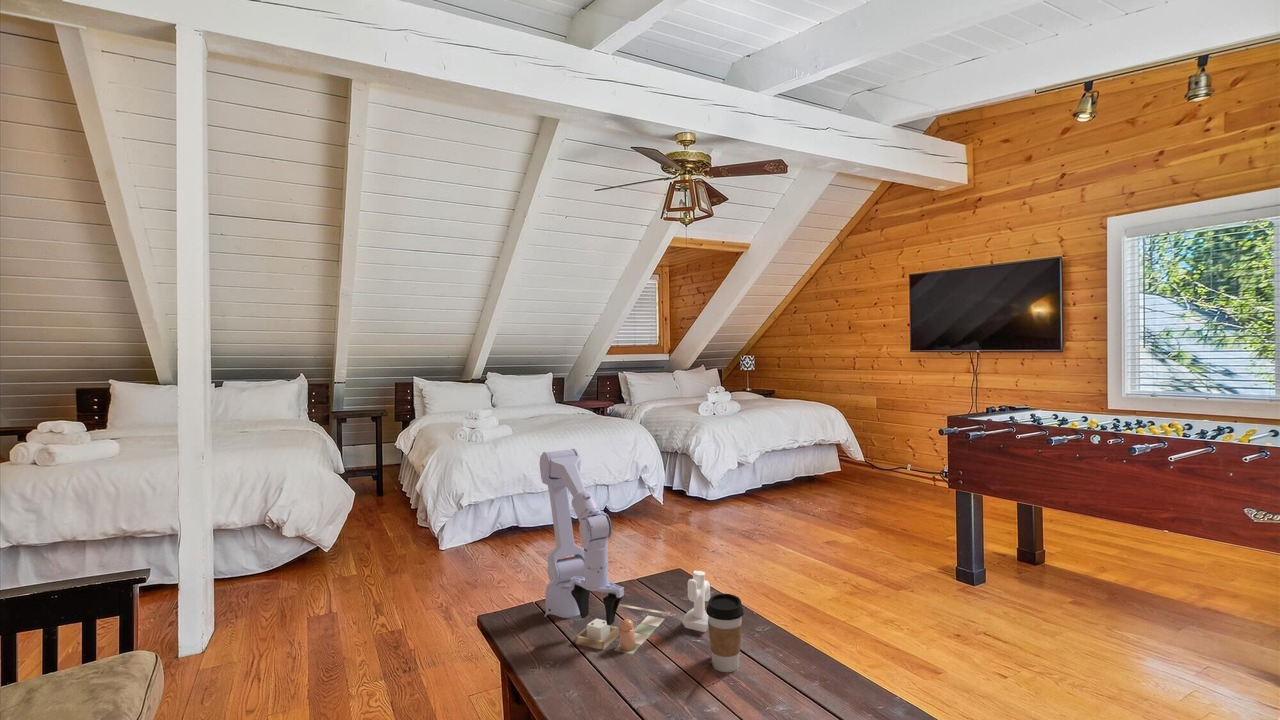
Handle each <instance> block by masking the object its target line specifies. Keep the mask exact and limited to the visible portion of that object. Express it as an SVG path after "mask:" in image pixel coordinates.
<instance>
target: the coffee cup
mask: <svg viewBox="0 0 1280 720" xmlns="http://www.w3.org/2000/svg"><path fill="white" fill-rule="evenodd" d="M705 611H706V613H707V615H708V627H709V629H708V635H709V644H710V652H711V653H710V654H711V664H712V668H713V669H714V670H716V671H718V672H722V673H732V672H735V671H737V670H738V669H739V666H740V652H741V643H742V642H741V641H742V633H743V632H742V629H743V621H742V618H743V616H744V613H745V612H744V607H743V604H742V599H740V597H738V596H737V595H735V594H731V593H719V594H718V593H717V594H714V595H712V596H710V599H709V601H707V606H706V609H705Z"/></svg>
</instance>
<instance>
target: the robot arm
mask: <svg viewBox="0 0 1280 720" xmlns="http://www.w3.org/2000/svg"><path fill="white" fill-rule="evenodd" d="M581 461H582V460H581V455H580V453H579V451H578V450H577V449H576V448H571V449H565V450H562V449H561V450H555V451H543V452H542V453H541V455H540V458H539V462H538V463H539V470H540V471H539V472H540V478H541V483H542V484H544V485H547V489H548V494H549V502H550V507H551V515H552V523H553V530H554V538H555V544H556V545H555V547H554V549H553V550H552V551H551V552H549V554H548V556H547V576H548V579H549V581H548V584H547V585H546V589H545V595H544V596H545V614H544V616H543V617H544V618H545V617H547V616H548V615H553V616H557V617H560V618H563V619H572V618H573V619H574V618H575V617H577V616H580V618H581V619H586V617H588V616H589V612H590V611H589V607H590V605H589V604H590V602H589V600H590V594H591V593H590V592H591V591H592V592H599V593H602V594H607V595H606V596H604V597H603V598H602V601H603V605H604V608H605V621H606V622H607V625H610V626H612V624H614V623H615V617H616V615H617V610H618V607H619V606H618V605H620V604H621V600H622V598H624V596H625V587H624V586H620V585H618V584H616V583H614V582H612V581H610V578H609V552H608V551H609V549H608V548H609V547H608V545H609V543H608V542H609V541H608V538H610V537H611V535H612V533H613V530H612V528H613V527H612V526H613V525H612V521H611V519H610V517H609V514H607V513H605V512H604V510H601V509H600V507H599V505H598V503H597V501H596V499H595V496H594V495H593V493H592V492H590V491H589V490H588V491H587V490H586V487H585V484H584V481H583V479H582V475H581V473H580V471H581V465H582V464H581ZM568 491H569V492H570V494H571V496H572V499H571V506H572V508H573V511H574V513H575V515H576V517H577V519H578V522H579V527H578V528H579V530H578V531H579V534H580V538H581V547H580V546H578V545H577V544H576V543H575V537H574V530H573V523H572V522H573V521H572V516H571V508H570V502H569V496H568ZM568 556H569V557H568ZM564 557H565V558H564Z"/></svg>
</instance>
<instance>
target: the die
mask: <svg viewBox="0 0 1280 720" xmlns="http://www.w3.org/2000/svg"><path fill="white" fill-rule="evenodd" d="M610 626H611V625H607V622H606V620H605V619H600V618H597V617H596V618H595V619H593V620H592V621H591V622H589V623H588V624H587V623H586V627H587V638H592V639H597V640H602V641H603V640H604V639H605V638H606V637H607V636H608V635H609V634H610Z"/></svg>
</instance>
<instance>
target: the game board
mask: <svg viewBox="0 0 1280 720" xmlns="http://www.w3.org/2000/svg"><path fill="white" fill-rule="evenodd" d="M618 607H621V608H622V607H624V608H629V609H633V610H640V611H646V612H652V613H657V614H663V615H668V616H670V615H671V614H672V612H668V611H662V610H656V609H652V608H651V609H649V608H644V607H639V606H635V605H633V606H632V605H628V604H623V603H619V605H618ZM664 621H665V618H662V617H657V616H653V615H647V616H646V617H645V618H644V619H643V620H642V621H641V622H640V623H639V624H638V625H637V626H636V627H634V628H635V649H634V650H631V651H623V650H621V649H620V644H618V645H617V647H616V648H614V652H615V651H616V652H620V653H624V654H629V655H634V653H635V652H636V651H637V650H638V649H639V648H640V647H641V646H642V645H643V644H644V643H645V641H647V640H648V638H649V637H650V636H651V635H652V633H654V632H655V630H656V629H657V628H658V627H660V625H661V624H662V623H663V622H664ZM619 629H620V626H619V627H618V626H614V625H610V634H609V635H608V636H607V637H606V638H605V639H604V640H603V641H602V640H597V639H592V638H587V626H586V627H584V629H582V630H581V631H580V632H579V633H578V634H576V635H575V644H576V645H579V646H583V647H588V648H593V649H596V650H597V649H598V650H603V651H604V650H606V649H607V648H608V647H609V645H611V644H612V643H613V641H615V640H616V638H618V637H620V633H619Z"/></svg>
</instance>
